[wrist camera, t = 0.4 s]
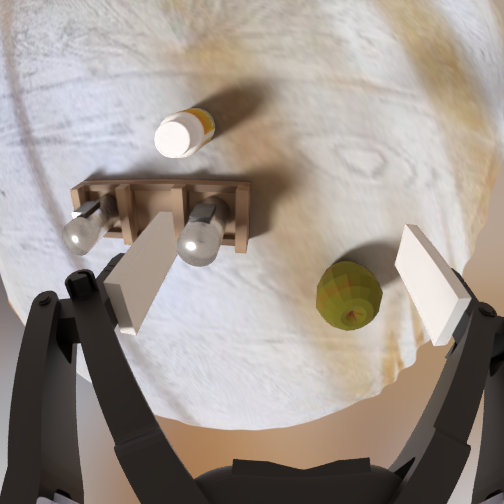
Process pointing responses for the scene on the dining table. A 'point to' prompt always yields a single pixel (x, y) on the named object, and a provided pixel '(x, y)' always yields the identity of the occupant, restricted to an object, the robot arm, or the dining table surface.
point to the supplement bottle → (184, 133)
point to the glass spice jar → (90, 224)
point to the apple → (348, 296)
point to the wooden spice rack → (168, 204)
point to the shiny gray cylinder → (203, 232)
